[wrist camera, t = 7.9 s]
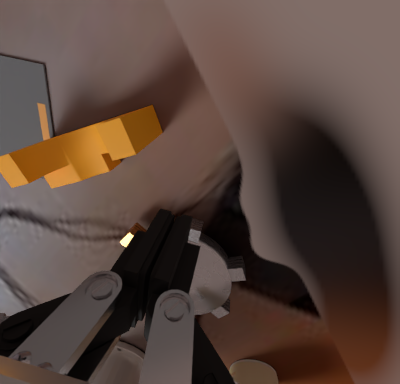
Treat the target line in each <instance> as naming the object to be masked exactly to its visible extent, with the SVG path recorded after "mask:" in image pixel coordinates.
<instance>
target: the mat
mask: <svg viewBox="0 0 400 384" xmlns="http://www.w3.org/2000/svg"><path fill="white" fill-rule="evenodd" d="M53 137H54V130H53V123H52V115H51V108H50V101H49V93H48V86H47V78H46V71H45V65H44V64H39V63H34V62H30V61H25V60H20V59H16V58H11V57H6V56H2V55H0V156H2V155H5V154H8V153H11V152H14V151H16V150H19V149H22V148H25V147H27V146H30V145H33V144H36V143H39V142H41V141H44V140H47V139H50V138H53ZM40 178H44V176H43V177H40ZM44 179H45V178H44Z"/></svg>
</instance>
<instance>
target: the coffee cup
mask: <svg viewBox="0 0 400 384" xmlns="http://www.w3.org/2000/svg"><path fill="white" fill-rule="evenodd" d="M229 373H230V374H231V376H232V378H233V380H234V381H236V382H237V383H239V384H279V383H278V378H277V374H276V371H275V370H274V369H273V368H272V367H271V366H270V365H268V364H267V363H264V362H261V361H258V360H252V359H244V360H239V361H236V362H234V363H233V364H232V365H231V367H230V372H229Z"/></svg>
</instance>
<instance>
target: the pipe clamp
mask: <svg viewBox="0 0 400 384" xmlns="http://www.w3.org/2000/svg"><path fill="white" fill-rule="evenodd" d="M162 133H163V132H162V129H161V126H160V123H159V121H158V118H157V115H156V113H155V110H154V107H153V105H150V106H147V107H144V108H141V109H138V110H135V111H132V112H129V113H126V114H123V115H120V116H117V117H114V118H111V119H108V120H104V121H101V122H98V123H95V124H92V125H89V126H86V127H83V128H80V129H77V130H74V131H71V132H68V133H65V134H62V135H59V136H56V137H53V138H50V139H47V140H44V141H41V142H39V143H36V144H33V145H30V146H27V147H25V148H22V149H19V150H16V151H14V152H11V153H8V154H5V155H2V156H0V173H1V174H2V175H3V177H4V178H5V179H6V181H7V182H8V183H9V185H10V186H11V187H12V188H13V187H17V186H21V185H25V184H28V183H31V182H32V181H34V180H36V179H38V178H40V177H43V176H44V178H45V179H46V181H47V182H48V184H49V185H50V187H51V188H55V187H59V186H63V185H67V184H71V183H75V182H79V181H82V180H84V179H87V178H90V177H92V176H95V175H98V174H102V173H105V172H109V171H111V170H112V169H114V168H115V167H116V166H117V165H119V164H120V163H121V161H120V159H121V158H125V157H129V156H133V155H136V154H137V153H139V152H140V151H141V150H142V149H143V148H145V147H146V146H147V145H148V144H149V143H151V142H152V141H153V140H154V139H156V138H157V137H158V136H159V135H160V134H162Z"/></svg>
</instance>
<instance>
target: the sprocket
mask: <svg viewBox="0 0 400 384" xmlns="http://www.w3.org/2000/svg"><path fill="white" fill-rule="evenodd" d="M203 223H204V221H200V220H197V219H194V218H192V224H191V229H190V234H189V239H188V243H191V244H194V245H198V246H201V247H200V251H199V255H198V259H197V263H196V267H195V271H194V276H193V280H192V284H191V288H190V292H189V296H190V297H191V298H192V300H193V302H194V307H195V315H200V314H205V313H209V312H211V313H212V314H213V315H215V316H216V317H217V318H221V317H223V316H225V315H227V314H229V312H230V300H229V299H228V297H229V295H230V292H231V283H232V281H245V280H246V269H245V264H244V261H243V257H242V256H235V257H228V255H227V254H226V252H225V251H224V249H223V248H222V247H221V246H220V245H219V244H218V243H217V242H216V241H214V240H213V239H212V238H210V237H209V236H207V235H205V234H203V233H201V230H202V227H203ZM138 230H140V231H144V232H146V231H147V230H146V229H144V228H143V227H142V226H141V225H140V224H138V223H136V224H135V225H134V226H133V227H132V228H131V229H130V230H129V231H128V232H127V233H126V234H125V236H124V237H123V238H122V240H121V241H120V243H121V244H122V245H124V246H125V247H126V246H127V245H128V244H129V242H130V241H131V239H132V238H133V236H134V235H135V233H136V232H137V231H138Z"/></svg>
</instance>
